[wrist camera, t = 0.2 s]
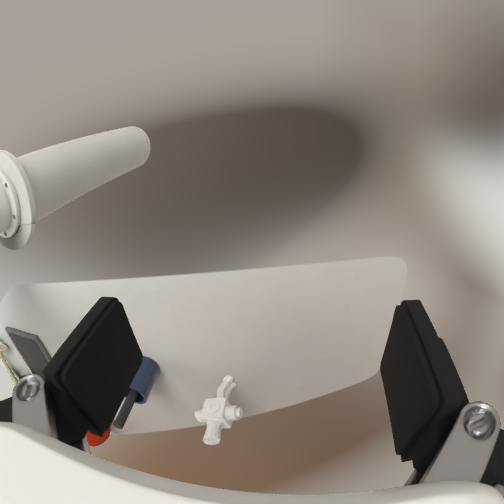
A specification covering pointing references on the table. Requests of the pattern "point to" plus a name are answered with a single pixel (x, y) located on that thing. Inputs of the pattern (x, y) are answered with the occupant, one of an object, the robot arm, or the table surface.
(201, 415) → the toy robot
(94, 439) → the apple
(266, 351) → the table surface
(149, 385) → the pen cup
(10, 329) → the tablet
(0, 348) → the white concave pointed part
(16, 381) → the wheat stalk
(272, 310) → the table surface
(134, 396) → the stylus
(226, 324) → the table surface
